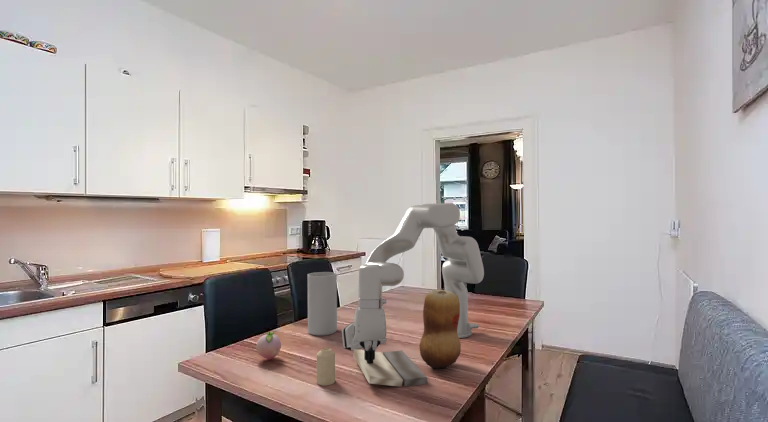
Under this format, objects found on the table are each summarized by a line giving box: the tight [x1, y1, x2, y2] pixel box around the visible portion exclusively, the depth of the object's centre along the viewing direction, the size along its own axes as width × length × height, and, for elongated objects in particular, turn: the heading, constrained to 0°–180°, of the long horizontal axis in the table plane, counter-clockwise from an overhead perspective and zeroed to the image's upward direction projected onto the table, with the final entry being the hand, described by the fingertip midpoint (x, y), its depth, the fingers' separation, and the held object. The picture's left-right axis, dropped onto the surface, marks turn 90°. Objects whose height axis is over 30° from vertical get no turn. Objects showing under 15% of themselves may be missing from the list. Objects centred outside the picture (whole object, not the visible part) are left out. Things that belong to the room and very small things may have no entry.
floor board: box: [382, 349, 428, 387], centre depth 127 cm, size 7×24×2 cm, turn 16°
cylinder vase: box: [307, 271, 338, 337], centre depth 170 cm, size 12×12×25 cm
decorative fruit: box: [256, 330, 282, 361], centre depth 137 cm, size 9×8×10 cm
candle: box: [316, 346, 336, 387], centre depth 118 cm, size 6×6×10 cm
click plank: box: [352, 349, 403, 388], centre depth 124 cm, size 10×24×2 cm, turn 16°
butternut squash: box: [418, 289, 462, 369], centre depth 129 cm, size 14×13×25 cm
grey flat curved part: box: [341, 321, 371, 352], centre depth 153 cm, size 17×5×10 cm, turn 135°
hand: (369, 361), depth 123 cm, fingers closed
